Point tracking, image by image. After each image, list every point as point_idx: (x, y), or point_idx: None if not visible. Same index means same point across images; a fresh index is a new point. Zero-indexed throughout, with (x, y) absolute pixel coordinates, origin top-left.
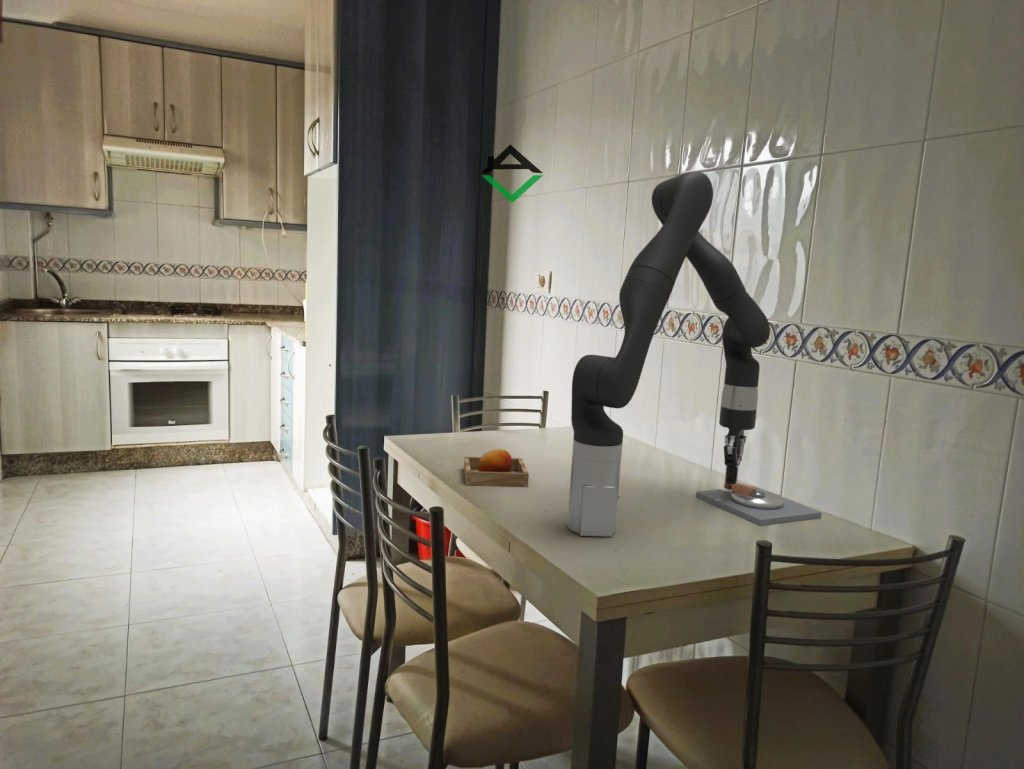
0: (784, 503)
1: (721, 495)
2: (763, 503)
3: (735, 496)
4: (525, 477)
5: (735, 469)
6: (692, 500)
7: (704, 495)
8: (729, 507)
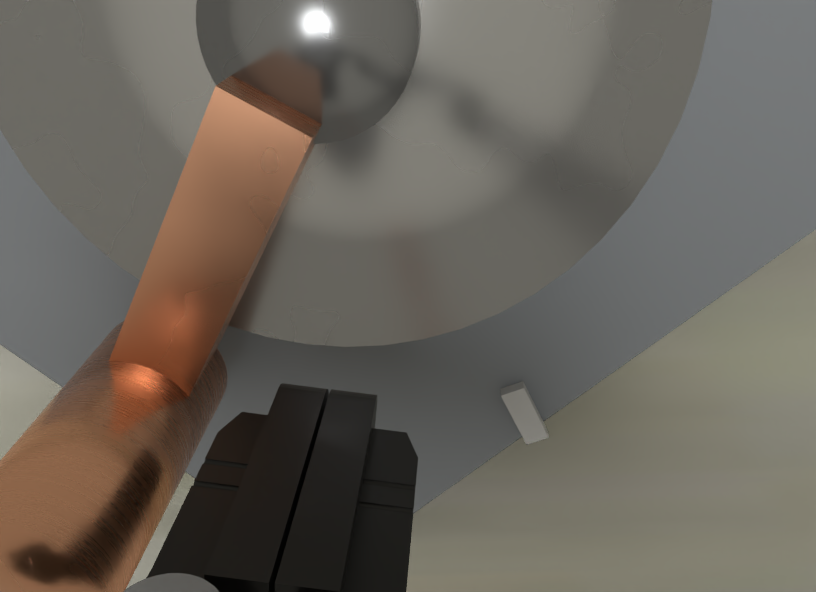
0: None
1: None
2: None
3: (510, 300)
4: None
5: (347, 587)
6: (455, 548)
7: None
8: (694, 304)
